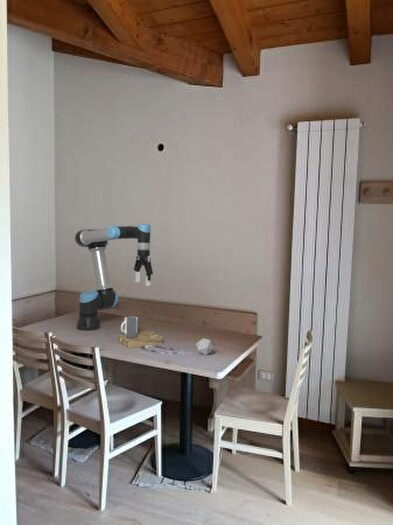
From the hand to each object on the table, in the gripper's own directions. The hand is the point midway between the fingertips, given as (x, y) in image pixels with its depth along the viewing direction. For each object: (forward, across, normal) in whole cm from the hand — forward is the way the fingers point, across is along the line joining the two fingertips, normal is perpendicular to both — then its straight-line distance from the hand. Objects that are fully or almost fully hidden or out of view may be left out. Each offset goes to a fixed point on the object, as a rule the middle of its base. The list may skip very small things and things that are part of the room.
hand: (142, 283), depth 286 cm
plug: (+32, +14, -14) cm, 38 cm away
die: (+32, +48, +14) cm, 60 cm away
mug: (+33, -5, -6) cm, 34 cm away
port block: (+32, +14, -8) cm, 36 cm away
